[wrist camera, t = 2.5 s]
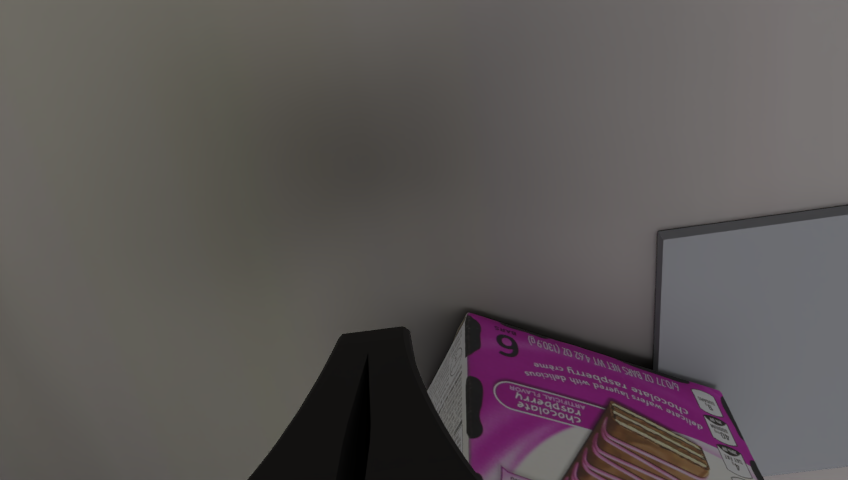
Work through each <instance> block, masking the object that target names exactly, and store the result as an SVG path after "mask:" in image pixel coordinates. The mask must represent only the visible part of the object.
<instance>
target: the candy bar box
mask: <svg viewBox="0 0 848 480" xmlns="http://www.w3.org/2000/svg"><path fill="white" fill-rule="evenodd" d="M427 393H428V395H429V397H430V399H431V401H432V403H433V405H434V407H435V409H436V411H437V413H438V414H439V416H440V418H441V420H442V422H443V423H444V425H445V427H446V429H447V430H448V432H449V434H450V435H451V437H452V439H453V440H454V442H455V443H456V445H457V446H458V448H459V449H460V451H461V452H462V454H463V455H464V457H465V458H466V460H467V461H468V462H469V464H470V465H471V466H472V468H473V469H474V471H475V472H476V473H477V475H478V476H479V477H480V479H481V480H764V479H763V477H762V475H761V473H760V471H759V469H758V467H757V465H756V462H755V461H754V459H753V457H752V455H751V453H750V451H749V448H748V446H747V444H746V442H745V441H744V438H743V436H742V434H741V432H740V430H739V428H738V426H737V423H736V422H735V420H734V417H733V415H732V413H731V411H730V409H729V407H728V405H727V403H726V401H725V399H724V397H723V395H722V393H721V392H720V391H719V390H716V389H713V388H710V387H706V386H703V385H700V384H696V383H693V382H690V381H687V380H683V379H680V378H676V377H673V376H670V375H667V374H664V373H661V372H657V371H654V370H651V369H648V368H644V367H641V366H638V365H635V364H631V363H628V362H624V361H621V360H618V359H615V358H612V357H609V356H606V355H603V354H600V353H596V352H593V351H590V350H587V349H584V348H580V347H577V346H574V345H571V344H568V343H564V342H561V341H558V340H555V339H552V338H549V337H546V336H542V335H539V334H535V333H532V332H529V331H526V330H523V329H520V328H517V327H514V326H511V325H508V324H505V323H501V322H498V321H495V320H492V319H489V318H485V317H482V316H479V315H476V314H473V313H467V314H466V316H465V317H464V319H463V321H462V323H461V325H460V327H459V328H458V330H457V333H456V335H455V338H454V341H453V343H452V345H451V347H450V349H449V351H448V353H447V355H446V357H445V359H444V360H443V362H442V364H441V366H440V368H439V370H438V372H437V373H436V375H435V377H434V379H433V381H432V383H431V385H430V387H429V389H428V390H427Z"/></svg>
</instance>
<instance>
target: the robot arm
mask: <svg viewBox="0 0 848 480" xmlns="http://www.w3.org/2000/svg"><path fill="white" fill-rule="evenodd" d="M248 480H481V479H480V477H479V476H478V475H477V473H476V472H475V471H474V469H473V468H472V466H471V465H470V464H469V462H468V461H467V460H466V458H465V457H464V455H463V454H462V452H461V451H460V449H459V448H458V446H457V445H456V443H455V442H454V440H453V439H452V437H451V435H450V434H449V432H448V430H447V429H446V427H445V425H444V423H443V422H442V420H441V418H440V416H439V414H438V413H437V411H436V409H435V407H434V405H433V403H432V401H431V399H430V397H429V395H428V393H427V390H426V388H425V386H424V384H423V381H422V379H421V377H420V374H419V372H418V369H417V366H416V363H415V357H414V352H413V346H412V341H411V335H410V331H409V330H408V329H406V328H405V327H395V328H387V329H379V330H371V331H363V332H355V333H347V334H342V336H341V337H340V338H339V339H338V341H337V343H336V345H335V347H334V349H333V351H332V353H331V355H330V357H329V359H328V361H327V363H326V364H325V366H324V368H323V370H322V372H321V374H320V375H319V377H318V379H317V381H316V383H315V384H314V386H313V388H312V389H311V391H310V393H309V394H308V396H307V398H306V399H305V401H304V403H303V404H302V406H301V407H300V409H299V411H298V412H297V414H296V415H295V417H294V418H293V420H292V421H291V423H290V424H289V425H288V427H287V428H286V430H285V431H284V433H283V434H282V436H281V437H280V439H279V440H278V442H277V443H276V444H275V446H274V447H273V448H272V450H271V451H270V452H269V454H268V455H267V456H266V458H265V459H264V460H263V461H262V463H261V464H260V465H259V466H258V468H257V469H256V470H255V471H254V472H253V474H252V475H251V476H250V477H249V479H248Z"/></svg>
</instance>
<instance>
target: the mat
mask: <svg viewBox="0 0 848 480" xmlns="http://www.w3.org/2000/svg"><path fill="white" fill-rule="evenodd" d="M653 370H654V371H657V372H661V373H664V374H667V375H670V376H673V377H676V378H680V379H683V380H687V381H690V382H693V383H696V384H700V385H703V386H706V387H710V388H713V389H716V390H719V391H720V392H721V393H722V395H723V397H724V399H725V401H726V403H727V405H728V407H729V409H730V411H731V413H732V415H733V417H734V420H735V422H736V423H737V426H738V428H739V430H740V432H741V434H742V436H743V438H744V441H745V442H746V444H747V446H748V448H749V451H750V453H751V455H752V457H753V459H754V461H755V462H756V465H757V467H758V469H759V471H760V473H761V475H762V477H763V476H772V475H780V474H788V473H797V472H805V471H814V470H822V469H830V468H839V467H847V466H848V205H847V206H840V207H832V208H825V209H818V210H811V211H803V212H796V213H789V214H782V215H774V216H767V217H760V218H752V219H745V220H738V221H731V222H723V223H716V224H709V225H701V226H694V227H687V228H680V229H672V230H665V231H658V240H657V269H656V297H655V326H654V355H653Z"/></svg>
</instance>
